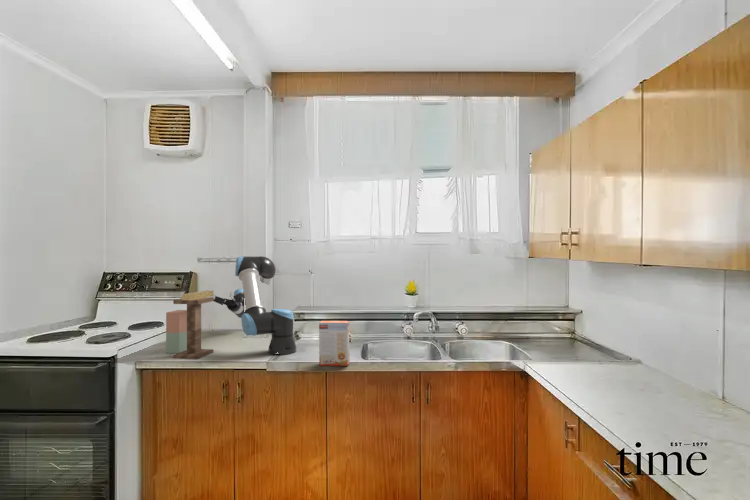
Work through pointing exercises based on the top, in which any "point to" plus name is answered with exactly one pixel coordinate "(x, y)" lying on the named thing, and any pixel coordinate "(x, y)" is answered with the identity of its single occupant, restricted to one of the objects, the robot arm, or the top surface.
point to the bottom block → (176, 342)
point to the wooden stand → (193, 329)
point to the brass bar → (197, 295)
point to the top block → (176, 321)
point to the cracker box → (334, 343)
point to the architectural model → (350, 336)
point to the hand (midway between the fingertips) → (219, 293)
